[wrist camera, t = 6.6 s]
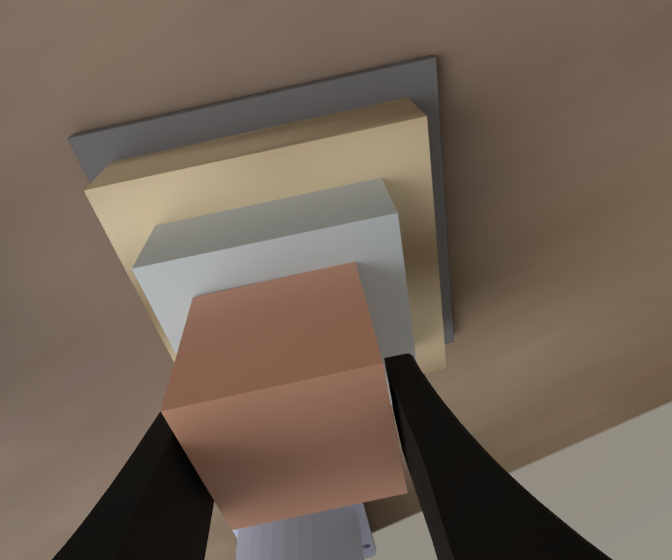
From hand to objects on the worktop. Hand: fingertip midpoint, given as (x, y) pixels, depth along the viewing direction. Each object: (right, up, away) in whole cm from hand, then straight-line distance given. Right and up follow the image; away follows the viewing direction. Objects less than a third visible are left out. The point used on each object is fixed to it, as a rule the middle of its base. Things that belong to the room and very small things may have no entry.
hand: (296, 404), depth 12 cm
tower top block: (0, +3, +4) cm, 5 cm away
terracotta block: (0, +1, +2) cm, 2 cm away
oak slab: (-1, +4, +6) cm, 7 cm away
